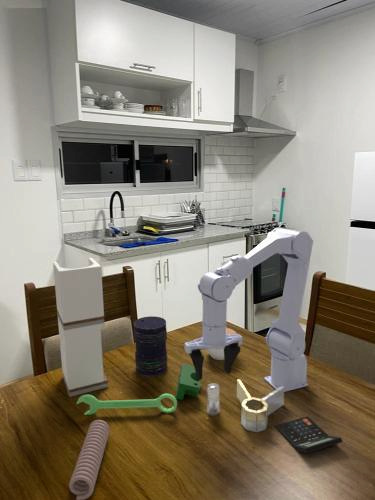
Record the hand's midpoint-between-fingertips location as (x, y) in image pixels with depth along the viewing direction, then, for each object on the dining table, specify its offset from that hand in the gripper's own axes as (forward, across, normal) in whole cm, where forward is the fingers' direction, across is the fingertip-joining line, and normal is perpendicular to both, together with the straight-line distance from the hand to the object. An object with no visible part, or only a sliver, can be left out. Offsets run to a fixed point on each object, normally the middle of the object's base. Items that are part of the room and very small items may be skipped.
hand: (213, 374), depth 95 cm
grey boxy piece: (+11, -28, +27) cm, 40 cm away
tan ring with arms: (+10, +11, -4) cm, 15 cm away
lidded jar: (+10, +15, +26) cm, 32 cm away
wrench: (+11, -20, +8) cm, 24 cm away
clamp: (+10, -2, +11) cm, 15 cm away
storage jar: (+10, -8, +27) cm, 30 cm away
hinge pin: (+10, 0, 0) cm, 10 cm away
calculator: (+11, +16, -17) cm, 25 cm away
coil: (+11, -31, -6) cm, 33 cm away
